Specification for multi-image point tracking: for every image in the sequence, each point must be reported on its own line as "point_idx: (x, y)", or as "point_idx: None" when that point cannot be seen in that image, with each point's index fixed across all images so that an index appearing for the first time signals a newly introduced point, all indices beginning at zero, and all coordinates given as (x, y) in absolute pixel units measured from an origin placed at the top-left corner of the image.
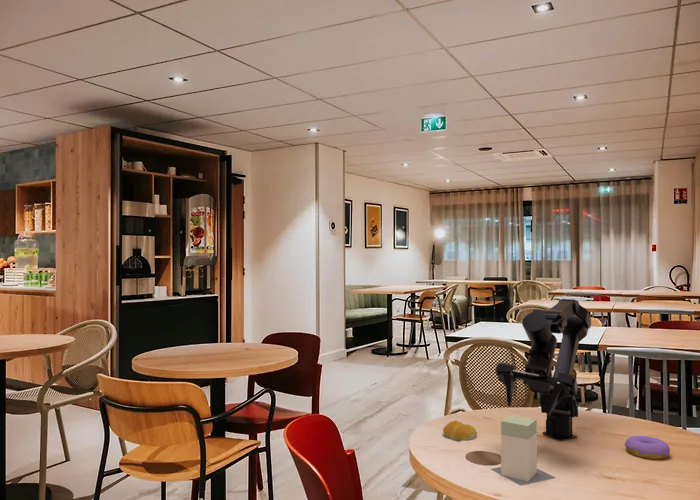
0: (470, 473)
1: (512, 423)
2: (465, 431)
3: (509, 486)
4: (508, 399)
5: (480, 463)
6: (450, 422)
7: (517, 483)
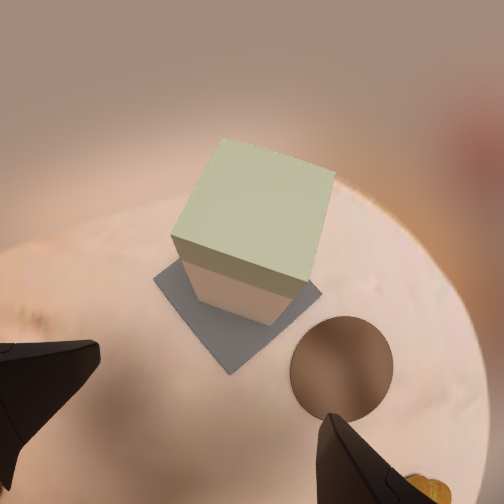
0: (362, 263)
1: (287, 156)
2: None
3: None
4: (345, 429)
5: (351, 319)
6: None
7: None
